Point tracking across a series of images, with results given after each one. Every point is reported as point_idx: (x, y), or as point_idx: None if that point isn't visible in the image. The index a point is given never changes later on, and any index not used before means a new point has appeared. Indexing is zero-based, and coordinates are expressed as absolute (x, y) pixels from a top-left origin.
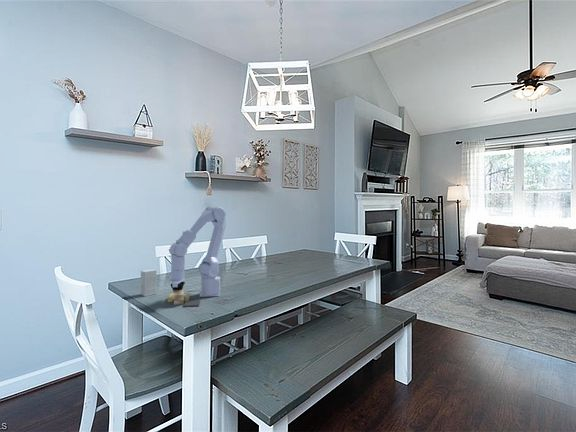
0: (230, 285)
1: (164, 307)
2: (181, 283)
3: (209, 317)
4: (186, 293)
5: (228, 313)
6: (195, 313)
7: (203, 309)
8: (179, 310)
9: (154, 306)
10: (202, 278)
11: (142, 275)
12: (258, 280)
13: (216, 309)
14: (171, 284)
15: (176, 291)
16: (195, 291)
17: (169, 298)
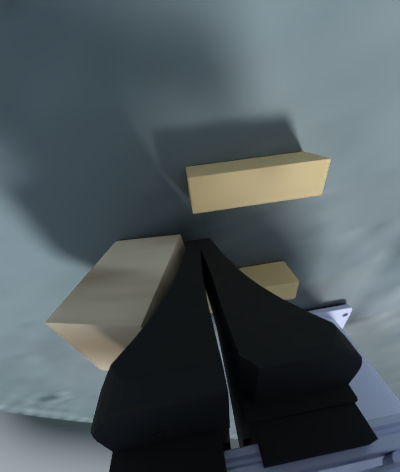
0: (390, 358)
1: (37, 189)
2: (240, 441)
3: (3, 402)
4: (288, 285)
5: (71, 419)
6: (20, 364)
7: (85, 370)
8: (25, 301)
9: (19, 56)
10: (357, 470)
11: None
12: (396, 393)
13: (99, 394)
14: (127, 421)
15: (124, 340)
16: (382, 273)
17: (190, 192)
